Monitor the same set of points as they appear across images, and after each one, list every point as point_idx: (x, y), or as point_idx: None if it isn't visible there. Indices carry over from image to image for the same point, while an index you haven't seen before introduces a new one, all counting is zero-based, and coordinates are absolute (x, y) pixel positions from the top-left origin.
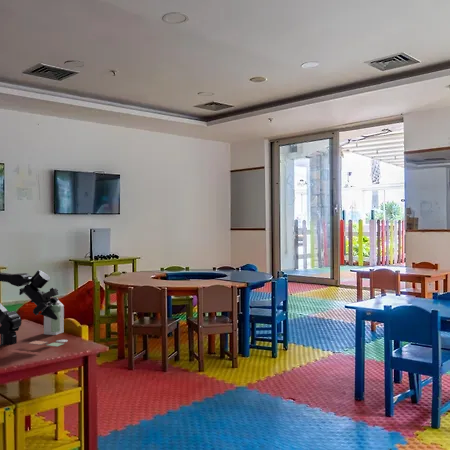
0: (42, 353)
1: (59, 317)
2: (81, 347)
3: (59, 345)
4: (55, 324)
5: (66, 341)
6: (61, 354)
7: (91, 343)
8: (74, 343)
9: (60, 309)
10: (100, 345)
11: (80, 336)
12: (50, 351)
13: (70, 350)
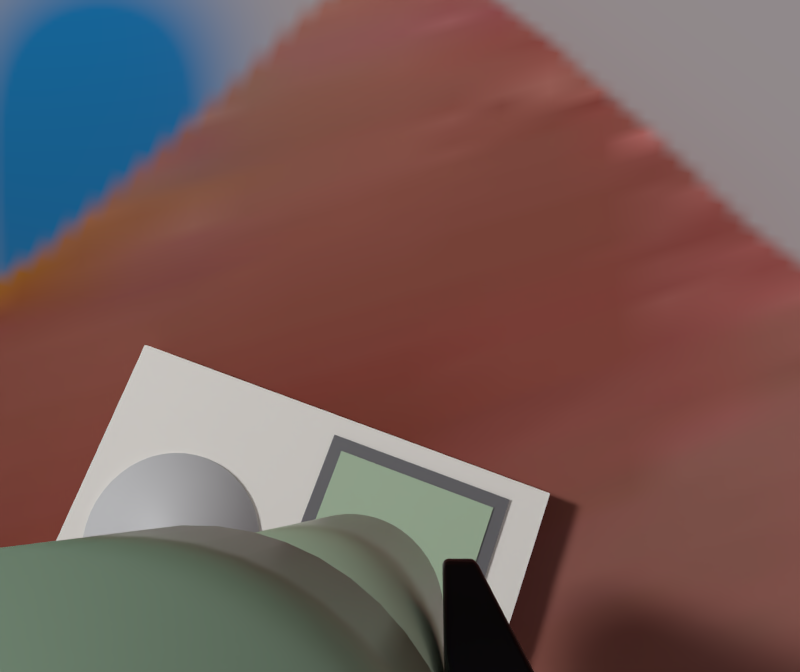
0: (773, 635)
1: (315, 536)
2: (417, 202)
3: (446, 487)
4: (438, 612)
5: (203, 459)
6: (790, 344)
7: (212, 141)
8: (198, 355)
9: (149, 530)
10: (318, 15)
11: None
12: (651, 552)
13: (576, 293)
